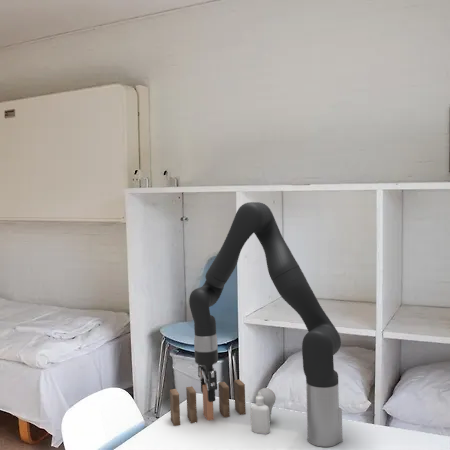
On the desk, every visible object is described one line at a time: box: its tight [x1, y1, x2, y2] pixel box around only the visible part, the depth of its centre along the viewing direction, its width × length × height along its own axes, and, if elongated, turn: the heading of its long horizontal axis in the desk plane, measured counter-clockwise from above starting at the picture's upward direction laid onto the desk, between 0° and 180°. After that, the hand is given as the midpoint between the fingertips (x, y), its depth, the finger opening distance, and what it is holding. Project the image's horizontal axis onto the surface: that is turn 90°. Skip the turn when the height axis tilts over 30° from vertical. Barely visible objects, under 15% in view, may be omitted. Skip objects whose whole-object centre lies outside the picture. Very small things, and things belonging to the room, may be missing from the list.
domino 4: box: [217, 381, 231, 419], centre depth 176 cm, size 2×5×10 cm, turn 18°
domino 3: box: [202, 384, 214, 421], centre depth 174 cm, size 2×5×10 cm, turn 18°
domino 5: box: [233, 379, 246, 416], centre depth 178 cm, size 2×5×10 cm, turn 18°
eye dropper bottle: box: [250, 392, 271, 435], centre depth 163 cm, size 4×6×12 cm
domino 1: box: [169, 388, 181, 427], centre depth 171 cm, size 2×5×10 cm, turn 18°
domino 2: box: [185, 385, 198, 424], centre depth 173 cm, size 2×5×10 cm, turn 18°
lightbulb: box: [255, 387, 277, 421], centre depth 169 cm, size 6×6×11 cm
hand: (208, 396), depth 174 cm, fingers open, 8 cm apart
